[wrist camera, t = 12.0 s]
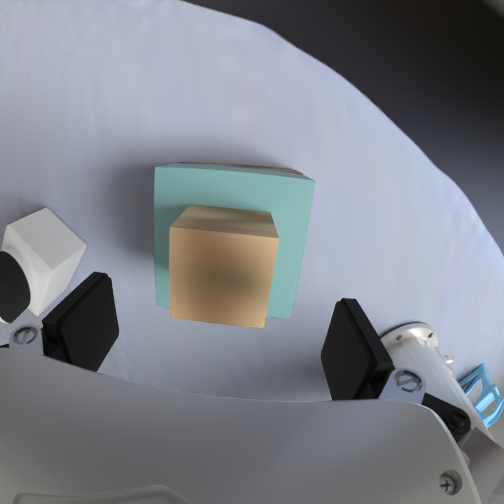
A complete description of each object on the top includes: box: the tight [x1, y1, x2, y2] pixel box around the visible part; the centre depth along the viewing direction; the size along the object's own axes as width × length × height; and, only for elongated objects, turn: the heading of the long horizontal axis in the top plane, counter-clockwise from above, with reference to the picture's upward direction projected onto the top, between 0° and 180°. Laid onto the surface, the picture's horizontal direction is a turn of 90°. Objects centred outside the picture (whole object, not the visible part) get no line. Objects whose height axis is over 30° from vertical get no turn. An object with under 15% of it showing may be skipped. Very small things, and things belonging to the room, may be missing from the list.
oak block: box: [169, 204, 279, 328], centre depth 16 cm, size 5×5×5 cm
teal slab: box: [154, 163, 315, 318], centre depth 20 cm, size 10×10×4 cm
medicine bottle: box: [0, 208, 87, 324], centre depth 20 cm, size 7×7×12 cm
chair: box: [458, 363, 504, 428], centre depth 31 cm, size 8×8×12 cm
